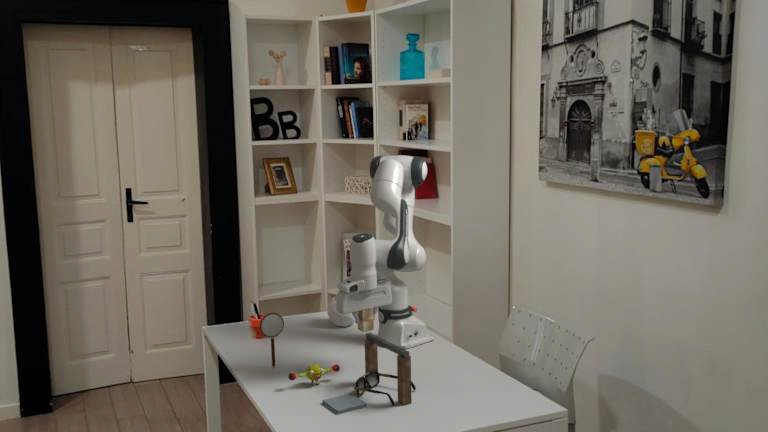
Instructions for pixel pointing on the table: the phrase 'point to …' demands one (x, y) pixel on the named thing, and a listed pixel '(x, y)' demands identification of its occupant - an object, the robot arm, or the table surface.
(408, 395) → the rod stand
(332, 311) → the geodesic sphere
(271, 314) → the magnifying glass
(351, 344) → the table surface
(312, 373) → the toy figure
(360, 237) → the robot arm
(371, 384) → the sunglasses
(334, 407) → the pad
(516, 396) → the table surface
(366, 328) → the block
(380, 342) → the rod
